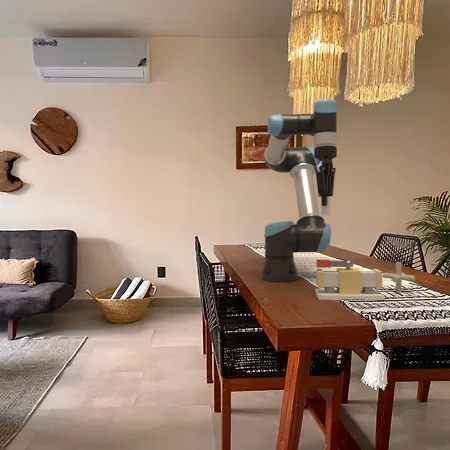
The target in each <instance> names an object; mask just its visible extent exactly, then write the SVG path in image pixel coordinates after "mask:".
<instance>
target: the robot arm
mask: <svg viewBox="0 0 450 450" xmlns="http://www.w3.org/2000/svg"><path fill="white" fill-rule="evenodd" d="M337 108H338V107H337V101H336V100H335V99H330V98H327V99H326V98H325V99H324V98H323V99H319V100H316V101H315V102H314V104H313V109H312V110H313V111H312V112H313V113H298V114H297V113H293V114H290V113H289V114H287V113H286V114H283V113H282V114H281V113H278V114H272V115H269V116H268V118H267V132H268V135H269V136H270V137H269V141H268V146H267V147H266V148H265V149H264V153H263V161H264V163H265V165H266V166H267V167H268V168H269V169H271V170H273V171H274V172H277V173H281V174H282V173H285V174H286V173H289V176H290V177H291V178H292V179H293V180H294V188H295V198H296V205H297V211H298V217H299V218H298V219H297V221H296V224H295V222H294V221H293V220H286V221H284V220H283V221H279V222H272V223H268V224H267V225H265V228H264V261H263V265H262V269H261V272H260V278H261V280H263V281H268V282H283V283H284V282H293V281H297V280H298V279H299V272H298V269H297V266H296V263H295V259H294V258H295V257H294V253H295V254H297V253H315V254H316V253H323V252H327V251H328V250H329V248H330V244H331V238H332V227H331V224H330V223H327V222H326V223H325V218H324V217H325V216H329V217H330V216H331V197H334V187H335V186H334V185H335V178H336V177H335V175H336V171H337V169H336V167H334V164H333V159H335V158H337V156H338V149H337V144H338V139H337V138H338V131H337V124H338V123H337V122H338V119H337V117H338V116H337V115H338V114H337V113H338V109H337ZM291 136H310V137H313V144H314V145H313V146H314V147H312V146H311V147H310V146H303V147H300V146H299V147H298V146H297V147H288V144H289V141H290V138H291ZM314 175H315V177H316V185H315V181H314ZM316 188H317V191H316ZM317 197H320V208H319V203H318V198H317ZM319 209H320V210H319Z"/></svg>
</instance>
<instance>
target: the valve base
mask: <svg viewBox="0 0 450 450" xmlns="http://www.w3.org/2000/svg"><path fill="white" fill-rule="evenodd" d="M315 274H316V275H315V277H316V278H315V279H316V280H315V281H316V283H315V284H316V286H317V288H315V296H316V297H317V300H318V301H342V300H341V299H368V300H367V301H370V300H384V301H385V294H383V293H382V292H381V291H380V290H383V271H382V270H381V269H379V268H372V270H359V269H358V268H357V267H336V270H323V269H322V268H316V270H315ZM335 287H336V288H335Z"/></svg>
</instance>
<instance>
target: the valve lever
mask: <svg viewBox="0 0 450 450" xmlns="http://www.w3.org/2000/svg"><path fill="white" fill-rule="evenodd" d="M315 267H316V269H322V268H324V269H328V268H330V269H331V268H346V267H350V268H354V260H350V259H349V260H348V259H346V260H331V259H316V266H315Z"/></svg>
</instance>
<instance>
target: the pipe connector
mask: <svg viewBox="0 0 450 450" xmlns="http://www.w3.org/2000/svg"><path fill="white" fill-rule="evenodd" d="M402 267H403V264H402V262H399V261H397V262H395V273H392V272H391V273H389V272H382V279H391V281H392V282H393V283H395V292H396V293H402V283H403V282H402V281H410V282H415V281H416V275H412V274H406V273H405V272H402V269H403V268H402Z"/></svg>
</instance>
